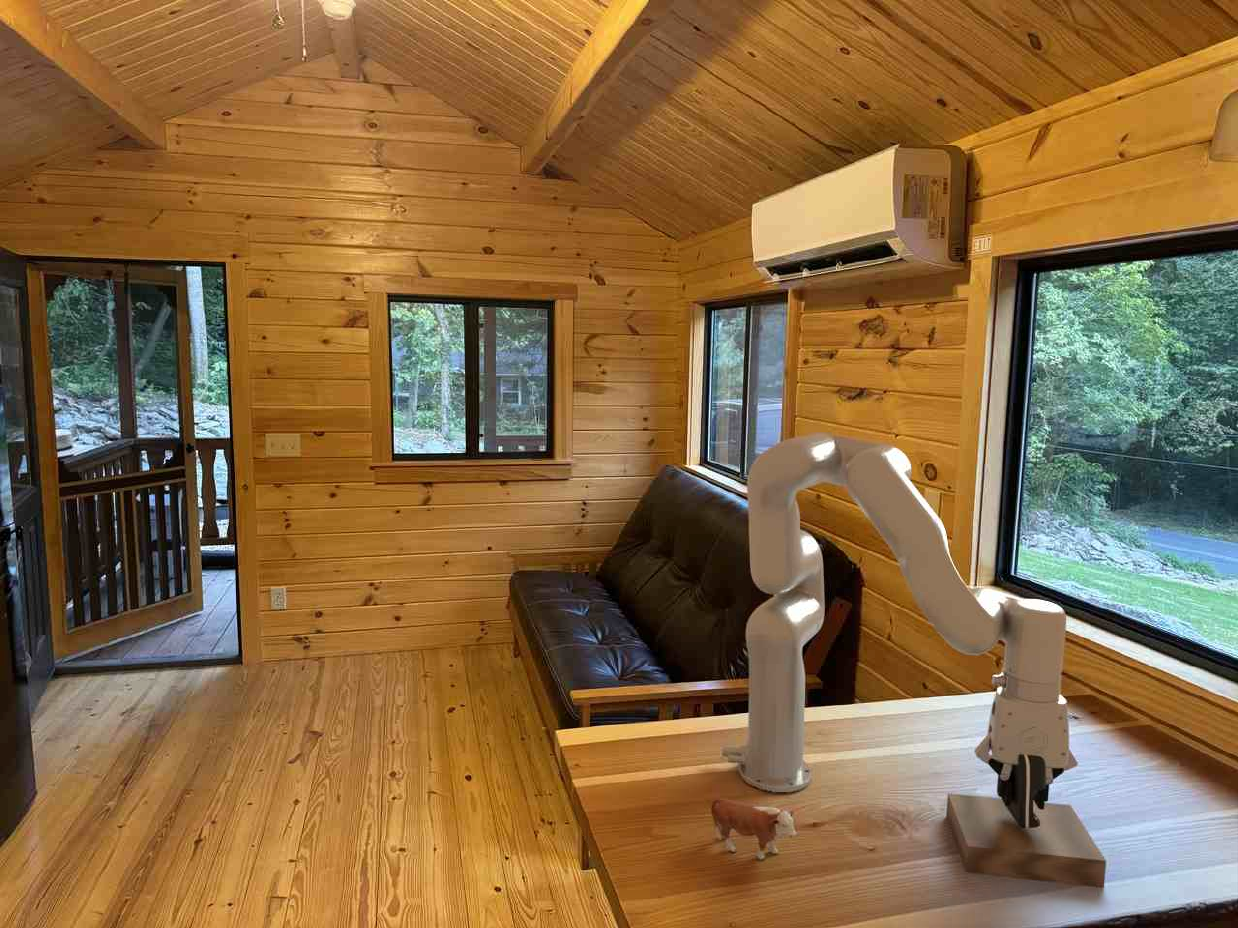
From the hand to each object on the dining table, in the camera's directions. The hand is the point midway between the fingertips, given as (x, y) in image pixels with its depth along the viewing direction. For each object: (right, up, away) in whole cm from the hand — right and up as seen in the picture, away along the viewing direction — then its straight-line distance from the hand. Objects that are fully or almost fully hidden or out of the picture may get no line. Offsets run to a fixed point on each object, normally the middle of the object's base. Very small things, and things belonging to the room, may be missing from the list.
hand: (1021, 801), depth 120 cm
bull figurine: (-40, -8, +1) cm, 40 cm away
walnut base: (0, -8, +1) cm, 8 cm away
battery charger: (+1, -2, 0) cm, 3 cm away
